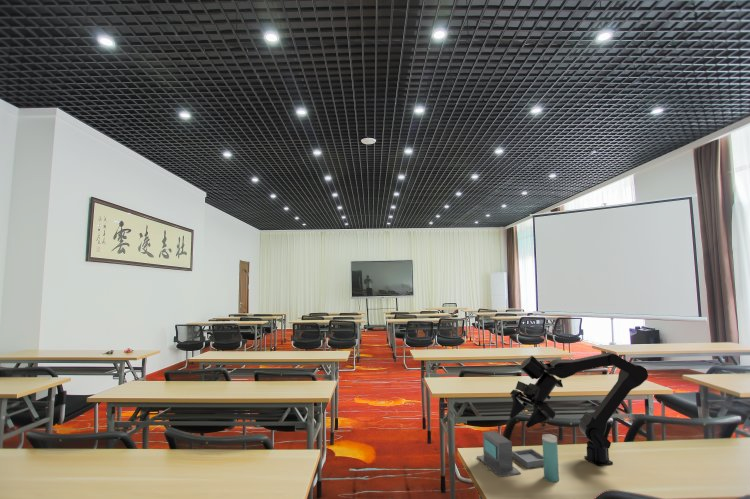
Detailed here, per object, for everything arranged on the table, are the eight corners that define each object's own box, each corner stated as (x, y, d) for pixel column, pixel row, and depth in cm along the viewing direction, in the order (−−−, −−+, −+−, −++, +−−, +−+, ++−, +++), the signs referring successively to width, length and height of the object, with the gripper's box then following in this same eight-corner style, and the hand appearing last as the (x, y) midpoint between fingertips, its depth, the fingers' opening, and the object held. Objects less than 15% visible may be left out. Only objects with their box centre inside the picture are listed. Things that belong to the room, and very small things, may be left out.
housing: (496, 455, 136) (495, 428, 137) (520, 473, 122) (519, 443, 123) (477, 457, 134) (476, 430, 135) (499, 477, 120) (498, 446, 121)
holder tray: (532, 454, 137) (531, 448, 137) (548, 465, 128) (548, 459, 129) (512, 457, 134) (511, 451, 135) (527, 468, 126) (527, 462, 126)
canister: (552, 474, 122) (550, 433, 124) (562, 480, 118) (560, 438, 119) (541, 475, 121) (539, 434, 122) (550, 482, 117) (548, 440, 118)
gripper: (513, 368, 145) (489, 399, 141) (546, 379, 127) (520, 416, 123) (531, 387, 146) (508, 418, 142) (567, 401, 128) (541, 438, 124)
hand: (518, 422), depth 133 cm, fingers open, 9 cm apart
